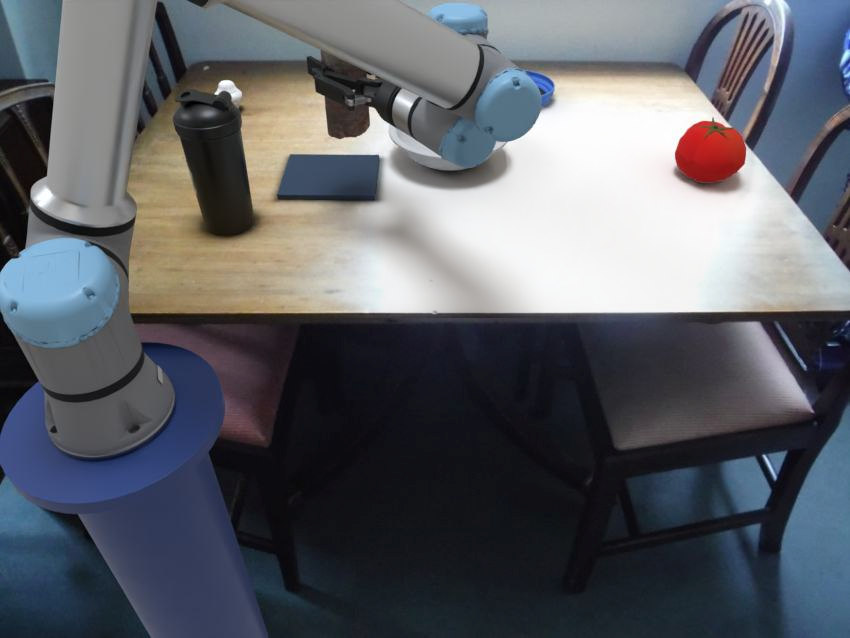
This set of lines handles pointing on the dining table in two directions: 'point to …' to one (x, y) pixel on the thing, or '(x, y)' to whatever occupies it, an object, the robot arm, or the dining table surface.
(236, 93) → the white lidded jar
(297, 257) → the dining table surface
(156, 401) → the robot arm
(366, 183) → the mat
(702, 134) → the tomato
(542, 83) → the bowl
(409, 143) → the soup bowl
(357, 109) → the candle
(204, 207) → the water bottle
